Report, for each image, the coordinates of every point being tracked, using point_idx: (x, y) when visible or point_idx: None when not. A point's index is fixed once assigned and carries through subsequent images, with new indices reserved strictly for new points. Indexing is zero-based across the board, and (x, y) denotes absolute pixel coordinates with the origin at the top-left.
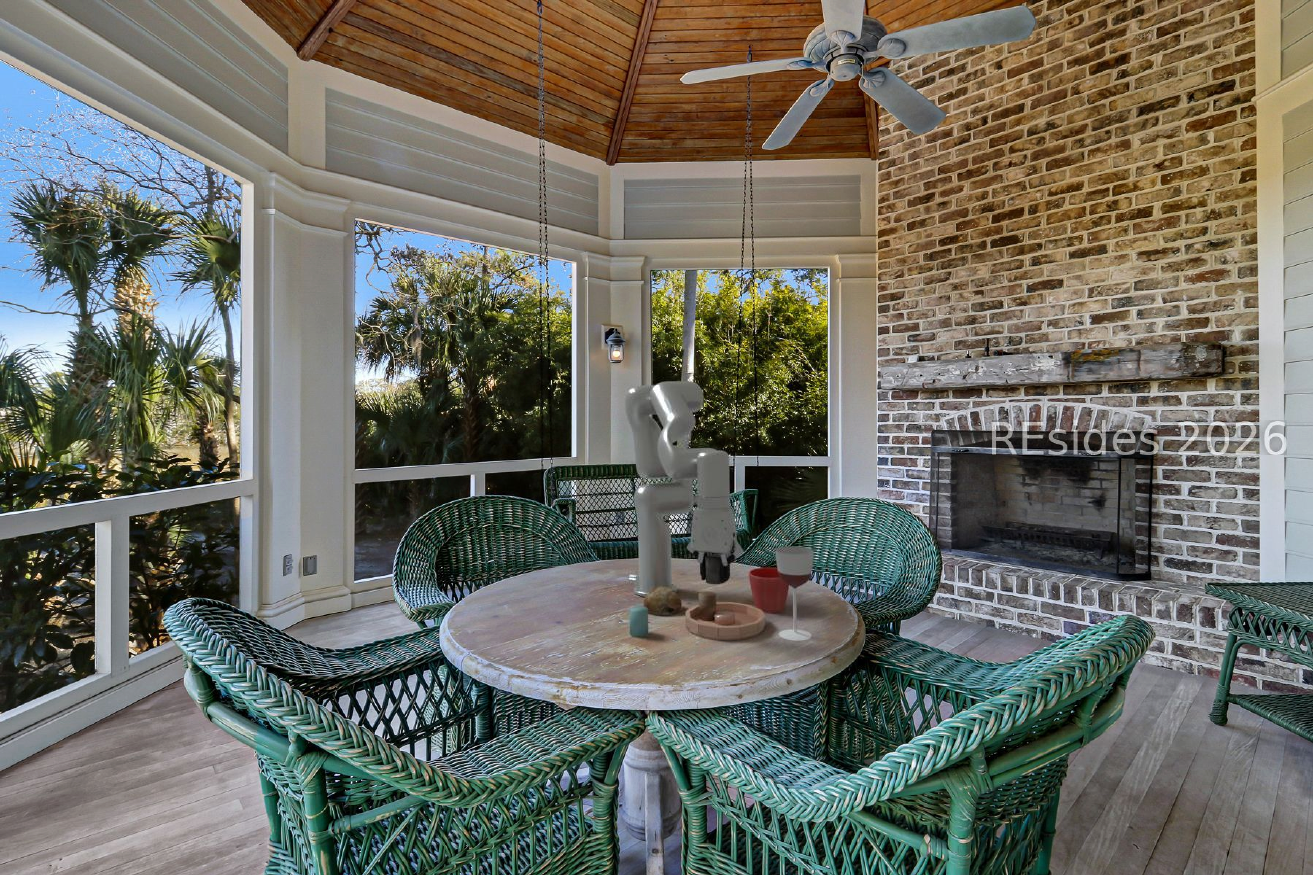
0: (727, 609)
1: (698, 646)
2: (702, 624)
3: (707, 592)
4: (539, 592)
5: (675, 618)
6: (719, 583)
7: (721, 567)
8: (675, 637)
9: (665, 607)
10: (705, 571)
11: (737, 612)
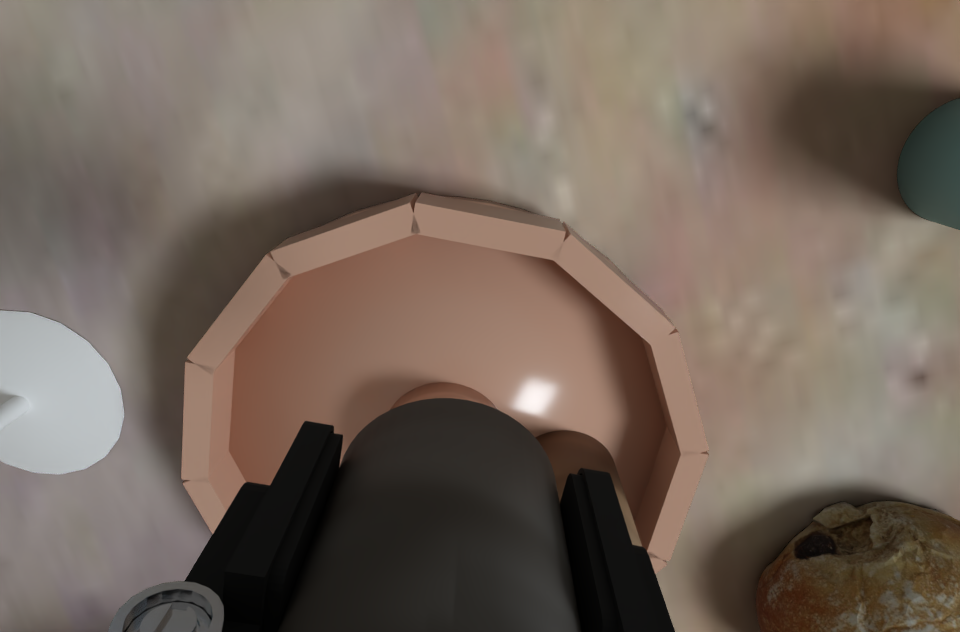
0: None
1: (518, 43)
2: (537, 236)
3: None
4: None
5: (762, 474)
6: (368, 427)
7: (264, 552)
8: (703, 164)
9: (855, 548)
10: (573, 570)
11: None
